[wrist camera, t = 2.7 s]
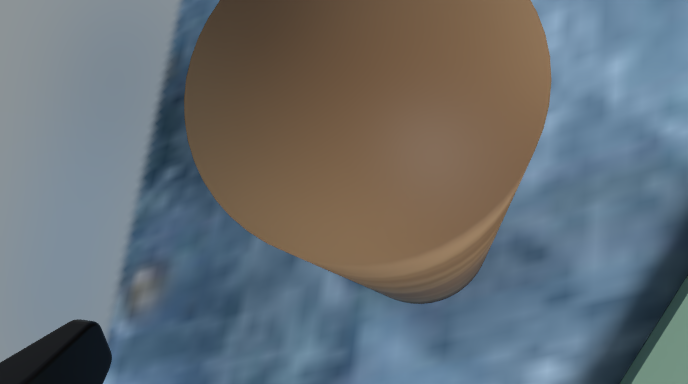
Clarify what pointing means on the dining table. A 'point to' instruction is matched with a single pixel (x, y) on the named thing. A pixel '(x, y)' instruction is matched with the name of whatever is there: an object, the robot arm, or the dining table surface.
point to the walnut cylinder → (370, 130)
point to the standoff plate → (665, 347)
